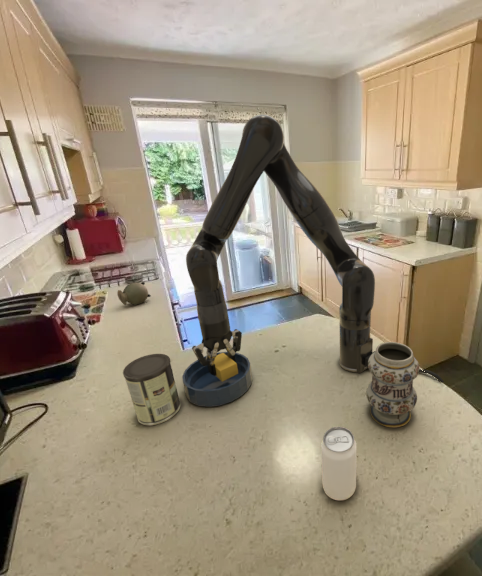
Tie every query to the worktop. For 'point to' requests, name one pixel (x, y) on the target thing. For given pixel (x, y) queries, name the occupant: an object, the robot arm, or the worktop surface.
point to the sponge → (225, 367)
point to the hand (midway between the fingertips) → (223, 369)
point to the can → (338, 463)
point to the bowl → (216, 383)
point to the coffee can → (152, 388)
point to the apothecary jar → (392, 384)
